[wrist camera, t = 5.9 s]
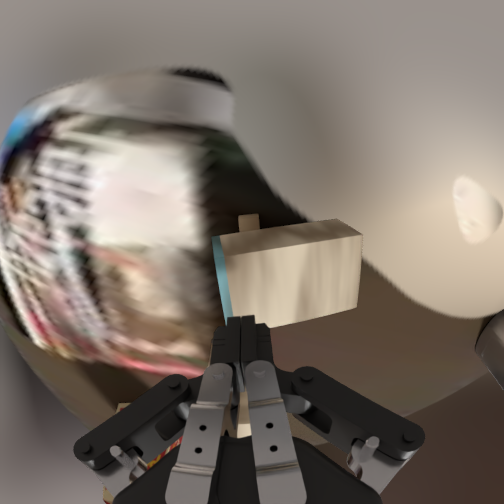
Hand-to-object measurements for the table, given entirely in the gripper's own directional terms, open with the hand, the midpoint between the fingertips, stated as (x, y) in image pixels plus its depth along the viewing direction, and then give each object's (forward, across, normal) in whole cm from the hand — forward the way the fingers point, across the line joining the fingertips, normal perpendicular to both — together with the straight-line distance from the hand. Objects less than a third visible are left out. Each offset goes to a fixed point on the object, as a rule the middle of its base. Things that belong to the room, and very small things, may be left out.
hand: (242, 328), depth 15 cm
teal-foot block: (+5, +2, 0) cm, 5 cm away
